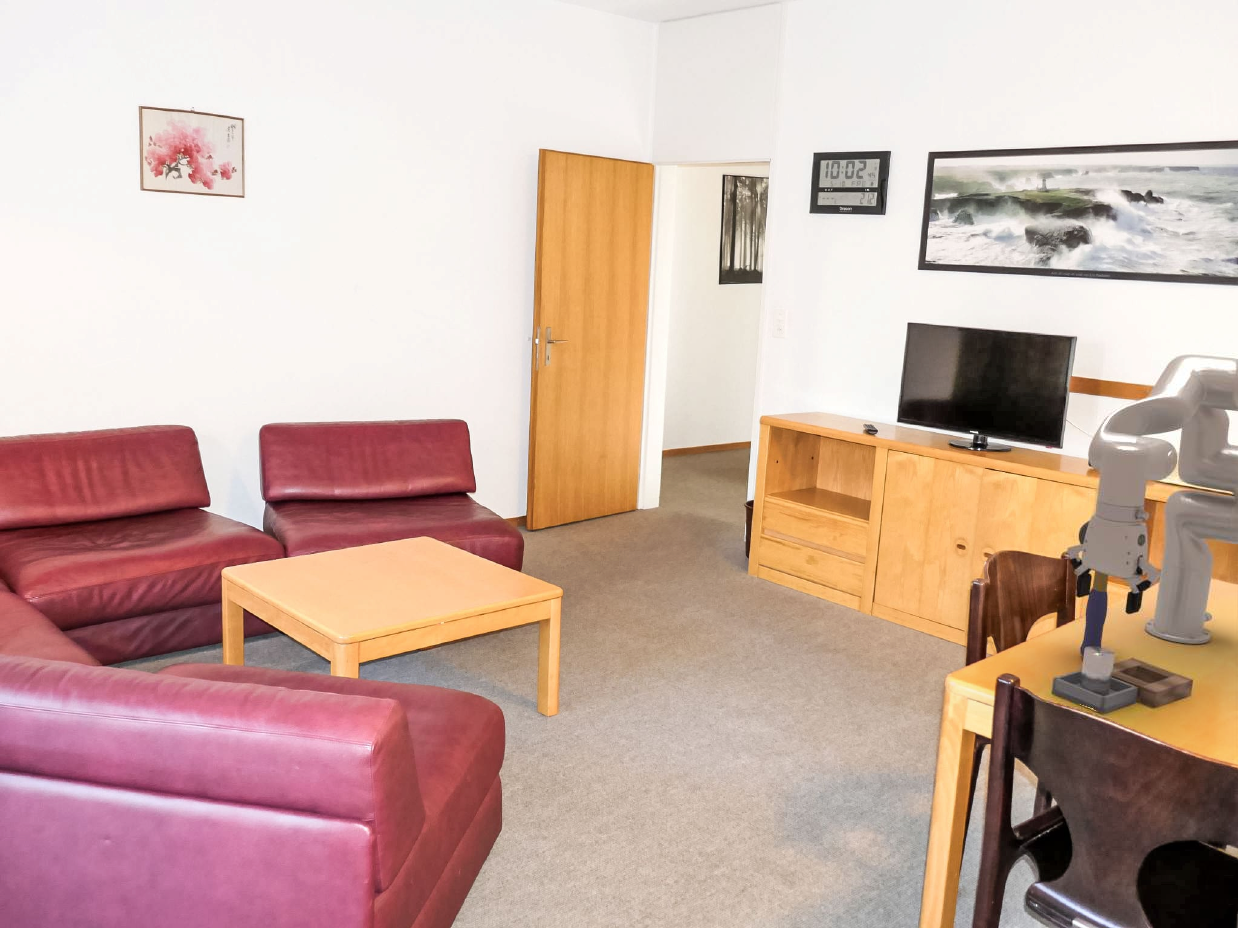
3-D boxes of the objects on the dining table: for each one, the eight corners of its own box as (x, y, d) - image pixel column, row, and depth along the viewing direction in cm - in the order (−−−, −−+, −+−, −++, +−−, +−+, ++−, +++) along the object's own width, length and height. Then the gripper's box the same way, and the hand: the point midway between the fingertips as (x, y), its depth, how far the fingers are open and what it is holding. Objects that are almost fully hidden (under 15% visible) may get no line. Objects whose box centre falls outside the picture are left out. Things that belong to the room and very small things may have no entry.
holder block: (1130, 672, 207) (1132, 657, 206) (1190, 694, 197) (1193, 679, 196) (1093, 683, 200) (1095, 668, 200) (1153, 707, 191) (1156, 692, 190)
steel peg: (1089, 685, 197) (1095, 644, 196) (1114, 695, 193) (1120, 653, 191) (1073, 690, 194) (1078, 649, 193) (1098, 700, 190) (1104, 658, 189)
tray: (1085, 682, 201) (1087, 667, 200) (1135, 702, 192) (1138, 687, 192) (1051, 693, 195) (1053, 677, 195) (1102, 714, 187) (1104, 698, 186)
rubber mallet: (1097, 673, 206) (1118, 523, 200) (1058, 661, 211) (1077, 515, 205) (1120, 656, 215) (1140, 513, 209) (1082, 646, 220) (1101, 505, 214)
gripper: (1178, 521, 182) (1165, 615, 186) (1087, 498, 196) (1076, 587, 200) (1153, 526, 178) (1140, 623, 182) (1062, 503, 192) (1051, 593, 196)
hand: (1106, 604), depth 191 cm, fingers open, 9 cm apart
